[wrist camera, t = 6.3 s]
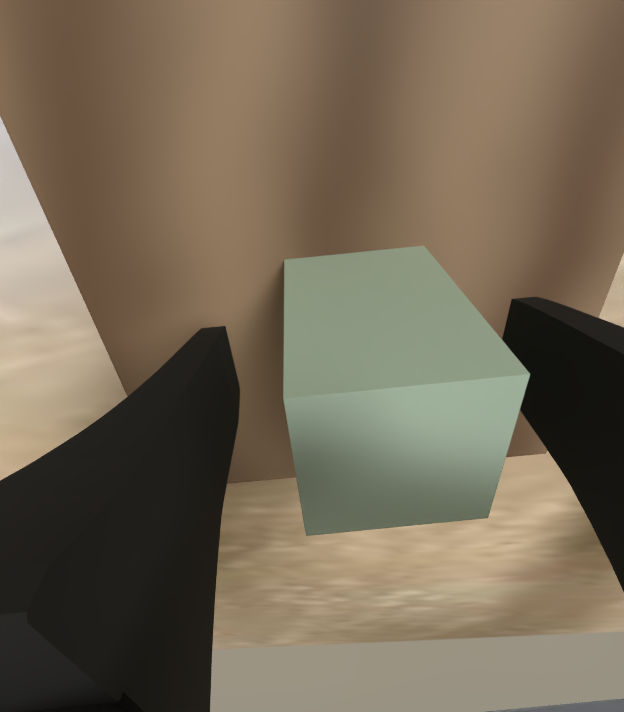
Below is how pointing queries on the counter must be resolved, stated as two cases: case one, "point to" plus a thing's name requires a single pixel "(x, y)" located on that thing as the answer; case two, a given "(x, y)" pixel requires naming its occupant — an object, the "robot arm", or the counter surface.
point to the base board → (313, 162)
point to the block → (393, 392)
